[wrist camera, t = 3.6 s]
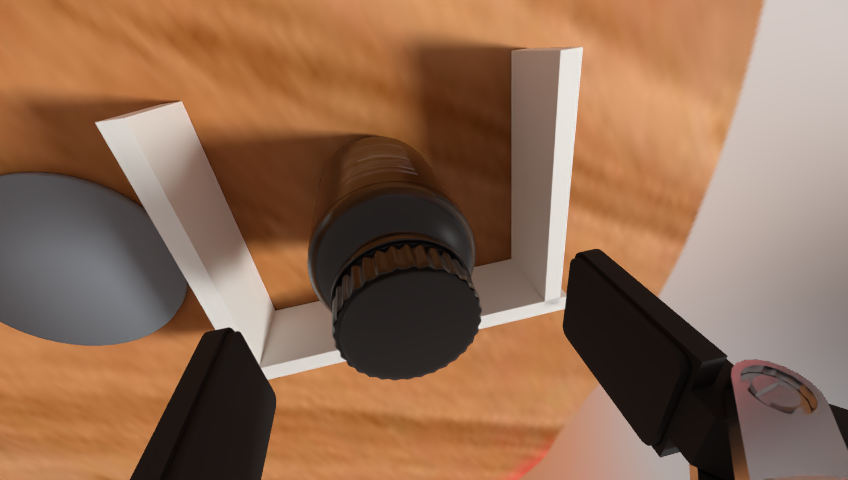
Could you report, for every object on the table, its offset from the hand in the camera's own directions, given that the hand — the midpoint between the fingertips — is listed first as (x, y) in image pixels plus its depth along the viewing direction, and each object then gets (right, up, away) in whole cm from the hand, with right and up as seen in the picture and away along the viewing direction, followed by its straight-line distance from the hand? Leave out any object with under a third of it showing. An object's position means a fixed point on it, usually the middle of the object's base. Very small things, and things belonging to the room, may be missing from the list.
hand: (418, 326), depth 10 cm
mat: (-19, +1, +10) cm, 22 cm away
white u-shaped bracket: (-3, +5, +11) cm, 13 cm away
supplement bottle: (-3, +5, +11) cm, 13 cm away
